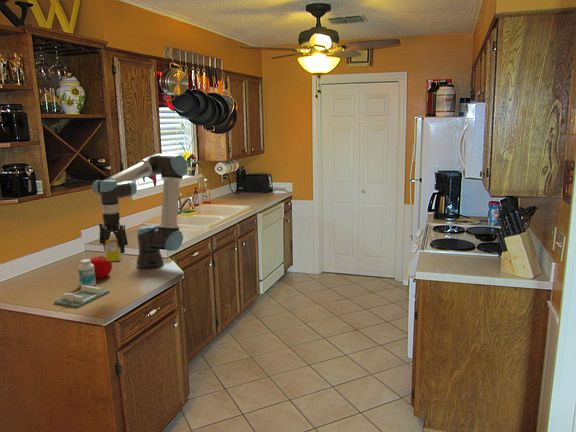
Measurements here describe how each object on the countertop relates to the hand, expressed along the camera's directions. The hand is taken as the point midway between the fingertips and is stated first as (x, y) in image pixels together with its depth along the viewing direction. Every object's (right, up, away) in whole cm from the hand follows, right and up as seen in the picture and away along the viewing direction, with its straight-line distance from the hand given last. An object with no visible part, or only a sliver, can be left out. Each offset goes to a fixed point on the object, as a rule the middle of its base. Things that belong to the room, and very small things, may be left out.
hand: (114, 258), depth 228 cm
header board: (-14, -19, -4) cm, 24 cm away
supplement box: (0, -1, 0) cm, 1 cm away
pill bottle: (-18, -15, +13) cm, 27 cm away
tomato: (-17, -12, +26) cm, 33 cm away
